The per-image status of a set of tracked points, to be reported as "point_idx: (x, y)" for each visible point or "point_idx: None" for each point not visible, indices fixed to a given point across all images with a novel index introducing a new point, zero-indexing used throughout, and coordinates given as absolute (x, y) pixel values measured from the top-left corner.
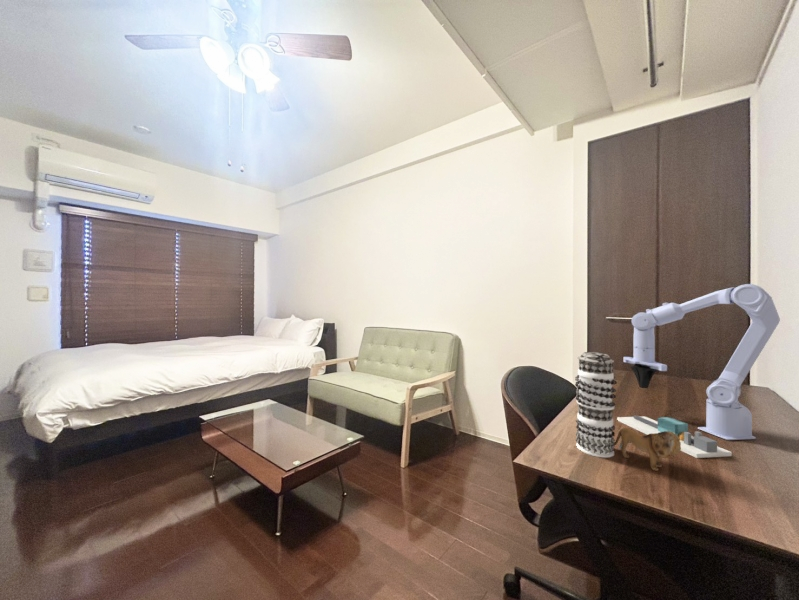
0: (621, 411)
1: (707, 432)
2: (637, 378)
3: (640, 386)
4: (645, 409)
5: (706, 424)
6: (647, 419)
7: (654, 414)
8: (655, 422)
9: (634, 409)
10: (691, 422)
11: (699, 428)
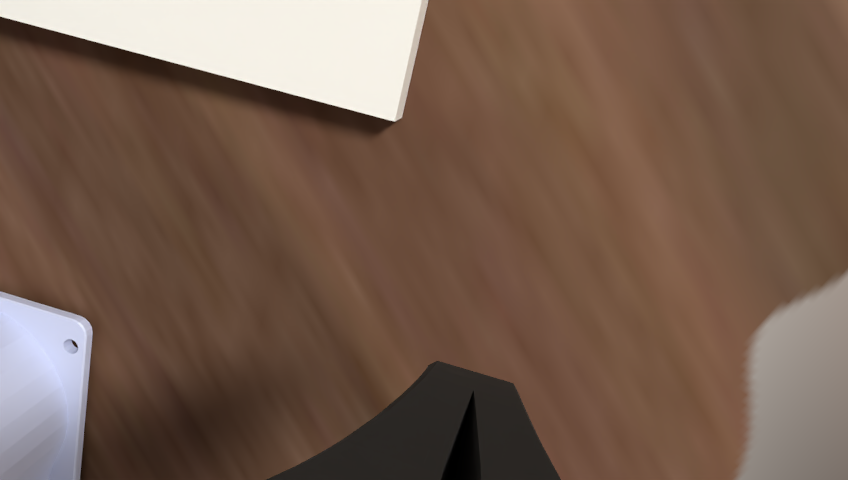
0: (686, 132)
1: (15, 296)
2: (533, 474)
3: (480, 380)
4: (601, 467)
5: (6, 364)
6: (316, 37)
7: None
8: (227, 25)
9: (656, 358)
10: (219, 458)
11: (67, 315)
